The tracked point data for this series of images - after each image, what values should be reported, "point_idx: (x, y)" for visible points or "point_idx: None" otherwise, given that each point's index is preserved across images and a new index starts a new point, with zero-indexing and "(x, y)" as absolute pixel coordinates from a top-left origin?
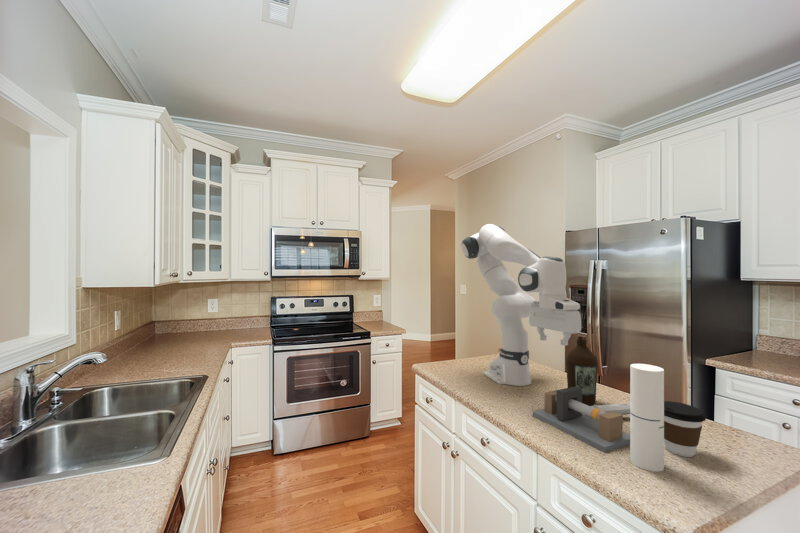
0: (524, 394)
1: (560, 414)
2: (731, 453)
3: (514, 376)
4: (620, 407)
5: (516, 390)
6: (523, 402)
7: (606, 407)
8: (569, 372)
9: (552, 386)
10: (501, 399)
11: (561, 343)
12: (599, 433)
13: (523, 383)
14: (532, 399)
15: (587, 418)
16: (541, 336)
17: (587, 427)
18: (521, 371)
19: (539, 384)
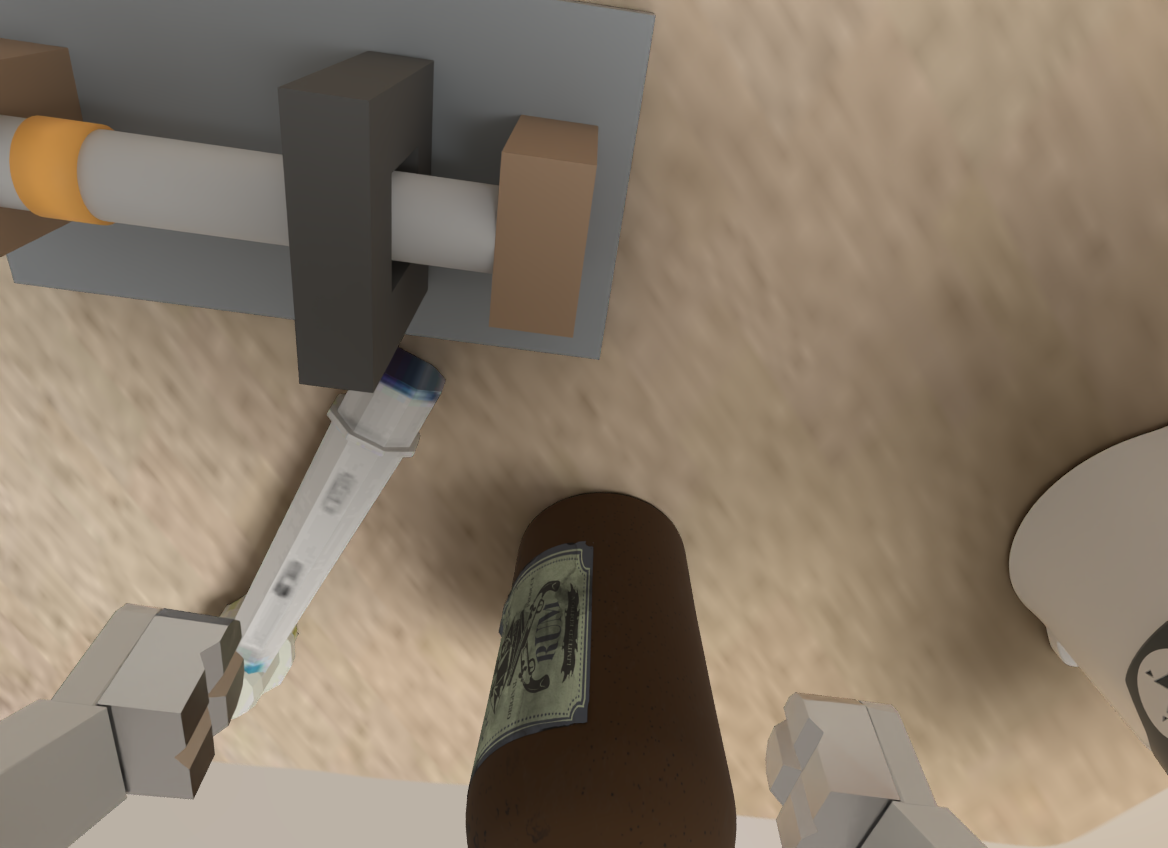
0: (947, 364)
1: (380, 59)
2: None
3: (1152, 506)
4: (283, 541)
5: (1041, 383)
6: (867, 209)
7: (324, 480)
8: (651, 658)
9: (868, 633)
10: (1057, 89)
11: (194, 629)
12: (44, 49)
13: (1047, 512)
14: (846, 328)
15: None
16: (864, 769)
17: (226, 137)
18: (1123, 578)
19: (955, 604)
